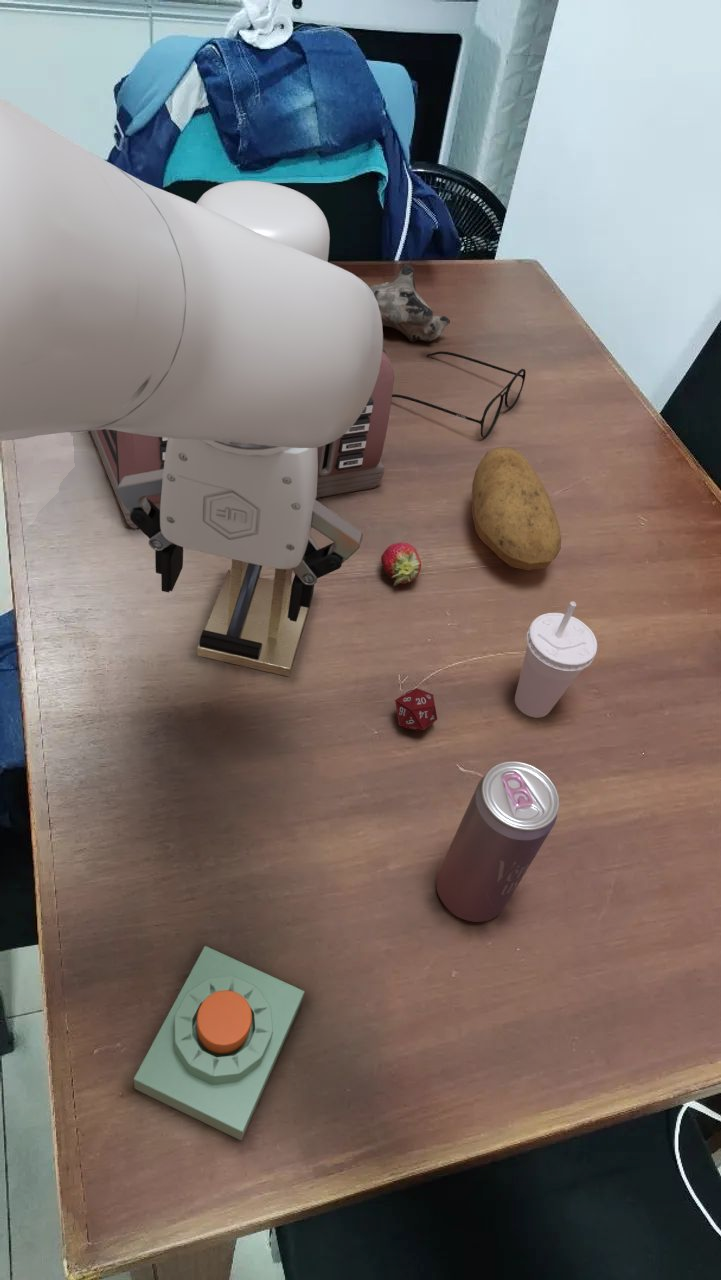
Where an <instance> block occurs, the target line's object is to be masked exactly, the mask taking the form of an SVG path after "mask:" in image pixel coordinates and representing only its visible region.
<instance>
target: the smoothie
mask: <svg viewBox="0 0 721 1280" xmlns="http://www.w3.org/2000/svg"><path fill="white" fill-rule="evenodd" d="M576 607H577V603H576V602H575V601H570V603H569V604H568V606H567V608H566V611H565V613H561V612H548V613H547V612H546V613H544V614H541V615H538V616H537V617H536V618H534V620H533V621H532V622H531V624H530V626H529V628H528V629H527V632H526V643H527V645H526V649H525V653H524V658H523V661H522V666H521V670H520V674H519V677H518V682H517V685H516V686H517V687H516V690H515V694H514V704H515V706H516V708H517V709H518V710H519V711H520V712H521V713H522V714H524V715H526V716H528V717H531V718H535V719H537V718H543V717H546V716H547V715H549V714H550V712H551V711H552V710H553V708H554V707H555V706H556V704H558V701H559V700H560V699H561V698H562V696H563V695H564V694H565V693H566V692H567V690H568V688H569V687H570V686H571V684H572V683H573V682H574V680H576V679H577V677H578V676H579V675H580V673H581V672H582V670H583V669H586V668H587V667H589V666H590V665H591V664H592V663H593V661H594V659H595V656H596V654H597V651H598V641H597V638H596V636H595V634H594V632H593V631H592V629H591V628H590V627H589V626H588V625H586V624H585V622H583V621H582V620H580V619H579V618H577V617H575V616H573V613H574V611H575V609H576Z"/></svg>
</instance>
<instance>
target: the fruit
mask: <svg viewBox="0 0 721 1280" xmlns="http://www.w3.org/2000/svg"><path fill="white" fill-rule="evenodd" d="M380 561H381V565H382V567H383V569H384V572H385V573H386V575H387V576H388V577H389V578H390V579H391V580H392V582H394V583H393V586H397V585H399V584H407V583H411V582H412V581H415V580H416V578H417V577H418V576H419V574H420V573H421V569H422V560H421V558H420V555H419V553H418V551H417V549H416V548H415V547H414V546H413V545H412V544H409V543H407V542H396V543H392V544H391V545H389V546H388V547H387V548H386V549H385V550H384V552H383V553H382V554H381V558H380Z"/></svg>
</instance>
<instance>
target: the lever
mask: <svg viewBox="0 0 721 1280" xmlns="http://www.w3.org/2000/svg"><path fill="white" fill-rule="evenodd" d="M262 569H263V566H261V565H256V564H252V563H248V567H247V570H246V573H245V576H244V579H243V583H242V586H241V589H240V592H239V596H238V599H237V602H236V605H235V608H234V612H233V615H232V618H231V621H230V624H229V628H228V631H227V634H226V635H224V634H220V633H216V632H211V631H207V630H205V629H203V630H202V631H201V634H200V637H199V643H198V645H199V646H200V647H204V648H208V649H212V650H217V651H221V652H225V653H230V654H234V655H238V656H243V657H247V658H251V659H256V660H258V659H259V657H260V654H261V650H262V643H259V642H255V641H250V640H246V639H242V638H241V635H242V632H243V629H244V625H245V622H246V619H247V615H248V612H249V609H250V605H251V602H252V599H253V596H254V592H255V589H256V586H257V582H258V579H259V577H260V575H261V572H262Z"/></svg>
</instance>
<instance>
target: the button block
mask: <svg viewBox="0 0 721 1280" xmlns="http://www.w3.org/2000/svg"><path fill="white" fill-rule="evenodd" d="M223 990H228V991H234V992H236V993H238V994H240V995H241V996H243V997H244V998H245V999H246V1001H247V1002H248V1004H249V1006H250V1008H251V1013H252V1021H251V1027H250V1032H249V1035H248V1037H247V1039H246V1041H245V1042H244V1044H243V1045H242V1046H241V1047H239V1048H238V1049H237V1050H235V1051H233V1052H230V1053H225V1054H220V1053H215V1052H212V1051H210V1050H208V1049H207V1048H206V1047H205V1046H204V1045H203V1044H202V1043H201V1042H200V1040H199V1037H198V1034H197V1014H198V1010H199V1008H200V1006H201V1004H202V1003H203V1001H204V1000H205V999H206V998H207V997H208V996H210V995H211V994H213V993H215V992H218V991H223ZM304 996H305V990H304V989H300V988H298V987H297V986H295V985H293V984H290V983H288V982H285V981H283V980H281V979H279V978H277V977H274V976H272V975H270V974H268V973H266V972H263V971H261V970H259V969H257V968H255V967H254V966H250V965H248V964H247V963H244V962H242V961H240V960H238V959H235V958H233V957H231V956H229V955H227V954H224V953H222V952H220V951H218V950H215V949H214V948H211V947H209V946H208V945H204V946H203V948H202V950H201V952H200V954H199V956H198V958H197V959H196V961H195V962H194V965H193V967H192V968H191V971H190V972H189V974H188V976H187V978H186V980H185V982H184V984H183V986H182V988H181V989H180V991H179V993H178V995H177V997H176V998H175V1001H174V1002H173V1005H172V1006H171V1008H170V1010H169V1012H168V1013H167V1015H166V1017H165V1019H164V1021H163V1023H162V1025H161V1027H160V1028H159V1030H158V1032H157V1034H156V1036H155V1038H154V1040H153V1041H152V1044H151V1045H150V1047H149V1049H148V1051H147V1052H146V1055H145V1056H144V1058H143V1060H142V1062H141V1063H140V1066H139V1068H138V1070H137V1071H136V1073H135V1075H134V1077H133V1085H134V1086H133V1087H134V1090H136V1091H138V1092H140V1093H142V1094H144V1095H147V1096H148V1097H150V1098H153V1099H155V1100H157V1101H159V1102H161V1103H163V1104H165V1105H166V1106H169V1107H171V1108H173V1109H174V1110H177V1111H180V1113H183V1114H185V1115H188V1116H190V1117H191V1118H194V1119H196V1120H198V1121H199V1122H202V1123H204V1124H206V1125H208V1126H210V1127H212V1128H214V1129H216V1130H218V1131H220V1132H223V1133H224V1134H226V1135H229V1136H231V1137H232V1138H234V1139H237V1140H239V1141H242V1140H243V1138H244V1137H245V1133H246V1132H247V1129H248V1128H249V1127H248V1126H249V1124H250V1122H251V1120H252V1117H253V1115H254V1113H255V1110H256V1108H257V1106H258V1104H259V1101H260V1100H261V1096H262V1094H263V1092H264V1090H265V1088H266V1085H267V1084H268V1081H269V1079H270V1076H271V1074H272V1071H273V1070H274V1067H275V1065H276V1062H277V1060H278V1057H279V1056H280V1053H281V1051H282V1048H283V1047H284V1045H285V1042H286V1039H287V1037H288V1035H289V1032H290V1030H291V1028H292V1025H293V1023H294V1022H295V1019H296V1017H297V1014H298V1012H299V1009H300V1007H301V1005H302V1002H303V999H304Z"/></svg>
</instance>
